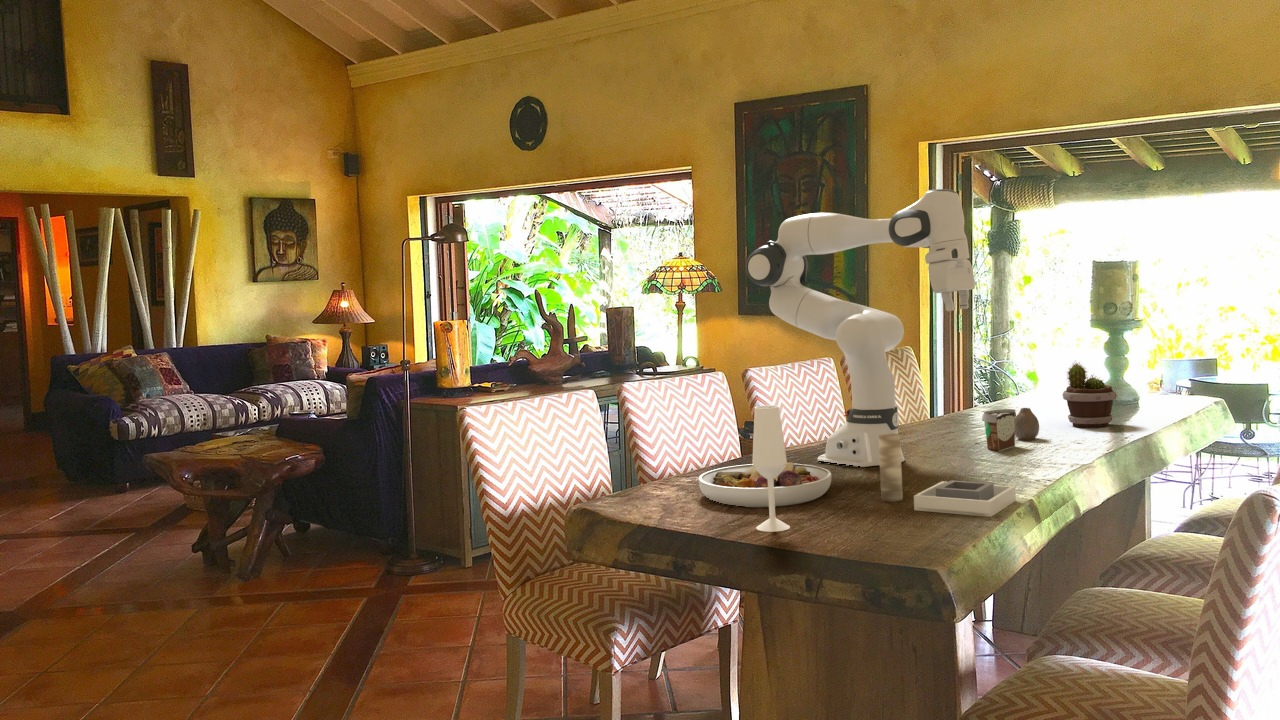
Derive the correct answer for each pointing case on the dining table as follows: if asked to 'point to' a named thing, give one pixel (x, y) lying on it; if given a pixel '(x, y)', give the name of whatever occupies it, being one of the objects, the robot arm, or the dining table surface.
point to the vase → (1026, 425)
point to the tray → (965, 498)
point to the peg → (890, 467)
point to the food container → (1000, 429)
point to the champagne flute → (769, 457)
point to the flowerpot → (1088, 399)
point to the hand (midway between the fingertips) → (957, 309)
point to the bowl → (765, 485)
